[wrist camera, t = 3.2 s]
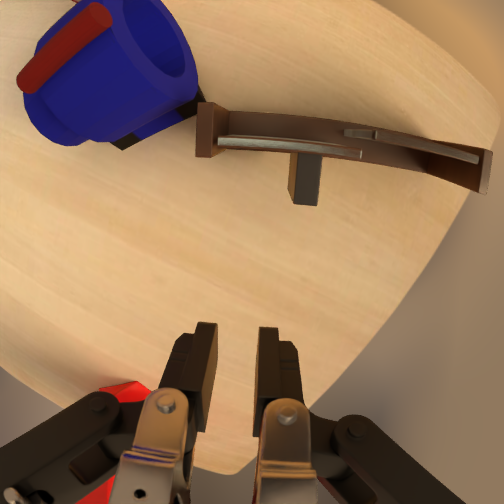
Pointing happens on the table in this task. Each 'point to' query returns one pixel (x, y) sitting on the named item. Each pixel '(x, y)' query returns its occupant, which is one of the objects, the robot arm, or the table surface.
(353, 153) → the panel
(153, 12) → the alarm clock
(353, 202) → the table surface
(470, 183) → the window frame
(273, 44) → the table surface
